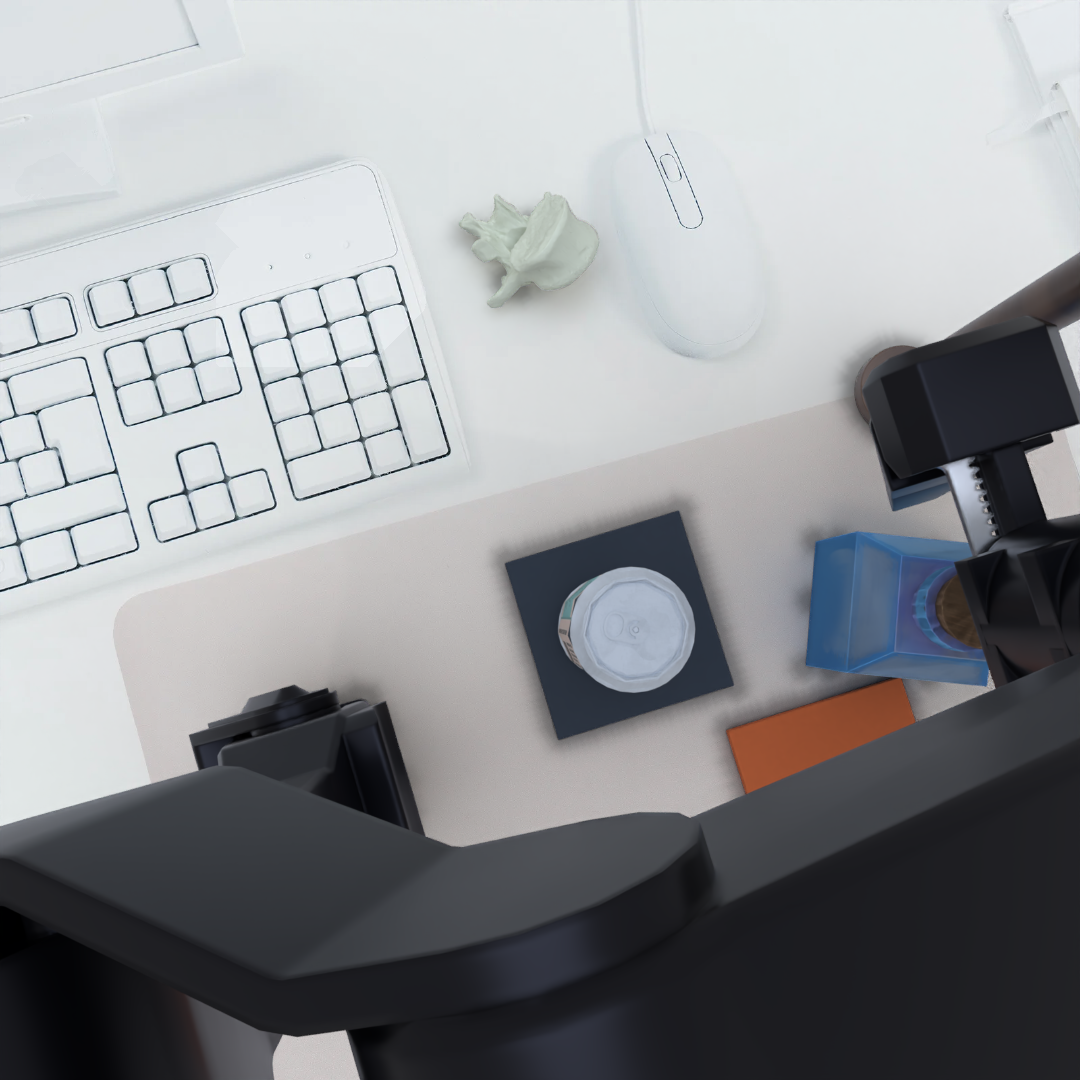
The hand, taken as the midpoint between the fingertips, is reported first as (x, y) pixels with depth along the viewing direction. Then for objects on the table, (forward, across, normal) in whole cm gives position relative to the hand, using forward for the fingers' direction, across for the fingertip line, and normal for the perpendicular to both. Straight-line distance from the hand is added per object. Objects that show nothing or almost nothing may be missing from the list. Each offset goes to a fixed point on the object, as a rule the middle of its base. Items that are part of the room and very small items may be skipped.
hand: (937, 610), depth 42 cm
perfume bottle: (+9, 0, 0) cm, 9 cm away
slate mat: (+9, +3, +12) cm, 15 cm away
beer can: (+9, +3, +12) cm, 15 cm away
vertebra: (+5, +23, +12) cm, 26 cm away
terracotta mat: (+9, -8, +4) cm, 13 cm away
